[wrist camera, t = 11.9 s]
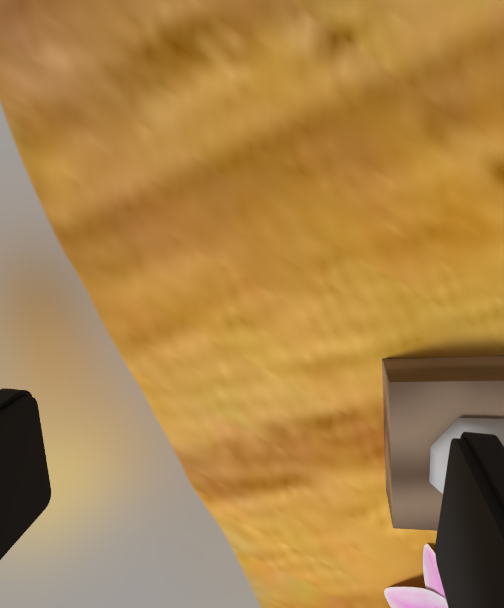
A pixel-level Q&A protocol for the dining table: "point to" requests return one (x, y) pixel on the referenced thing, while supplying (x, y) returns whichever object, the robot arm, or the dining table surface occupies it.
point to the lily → (418, 601)
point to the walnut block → (430, 423)
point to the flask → (442, 444)
